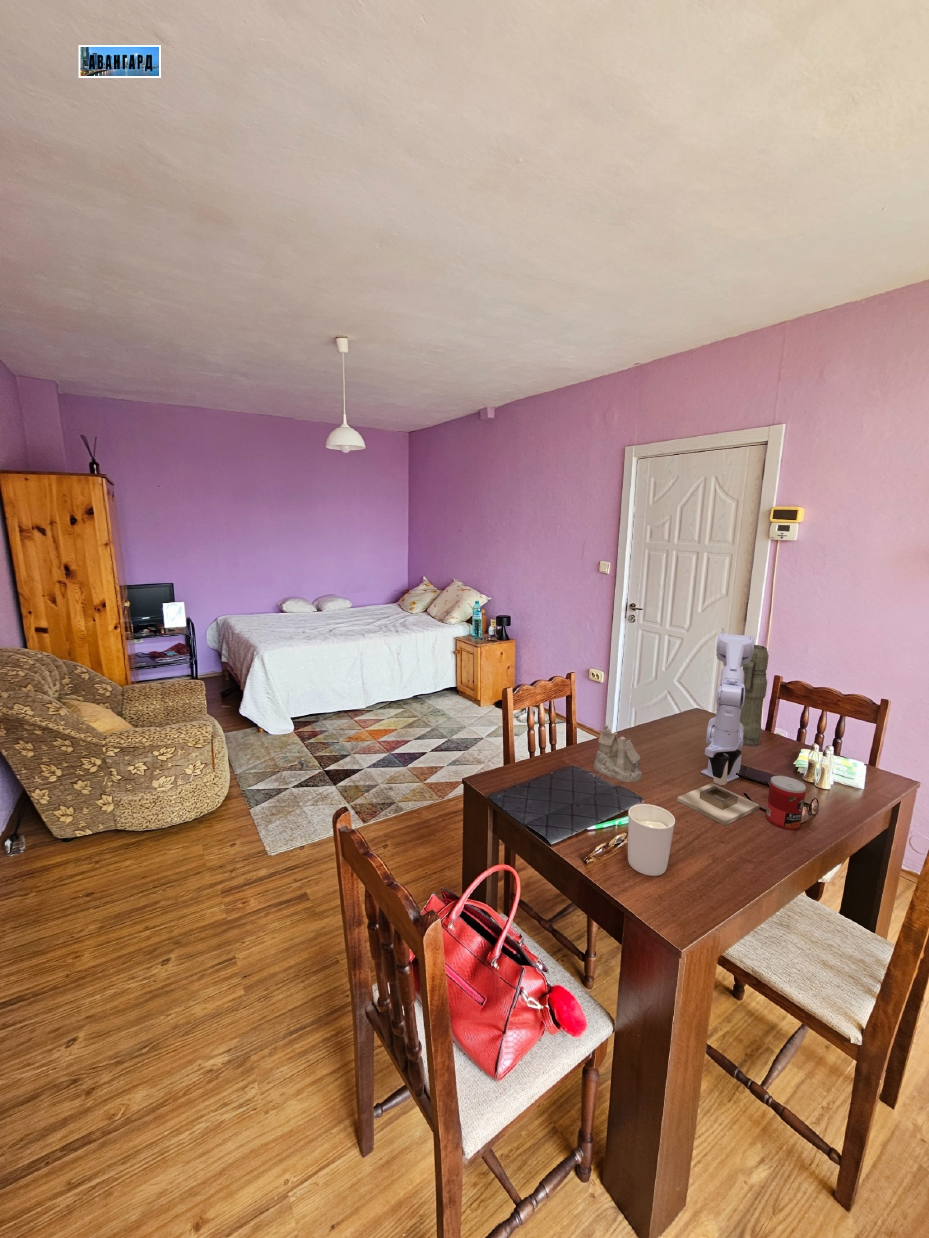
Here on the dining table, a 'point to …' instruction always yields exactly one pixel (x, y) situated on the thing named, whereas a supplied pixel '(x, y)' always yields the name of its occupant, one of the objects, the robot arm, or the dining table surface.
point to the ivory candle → (724, 778)
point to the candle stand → (718, 803)
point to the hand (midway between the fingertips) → (721, 775)
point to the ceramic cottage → (617, 757)
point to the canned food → (785, 802)
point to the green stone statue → (754, 695)
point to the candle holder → (649, 838)
